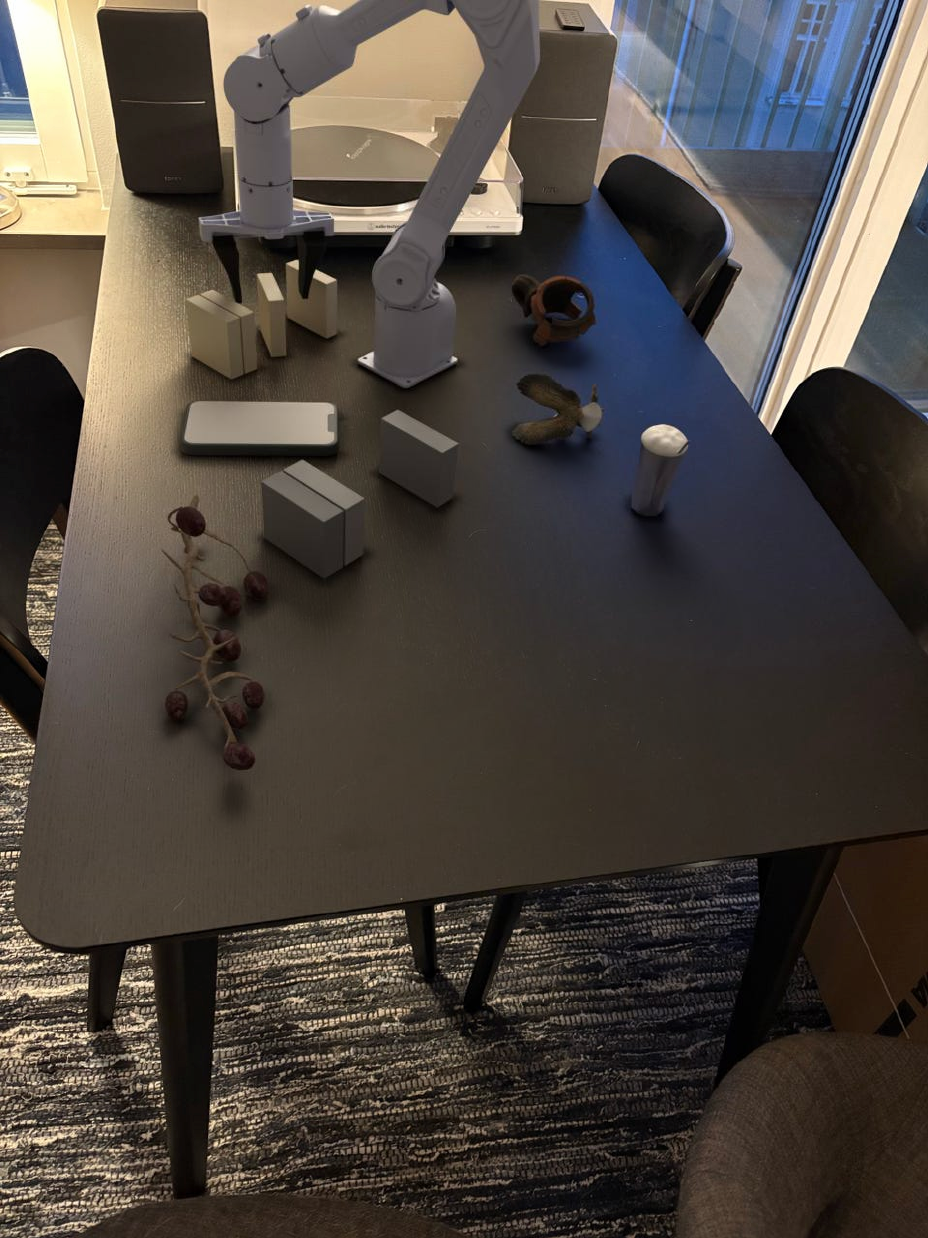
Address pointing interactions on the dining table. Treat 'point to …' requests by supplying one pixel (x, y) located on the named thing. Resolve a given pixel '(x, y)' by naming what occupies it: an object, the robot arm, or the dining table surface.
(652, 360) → the dining table surface
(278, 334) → the cream square block
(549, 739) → the dining table surface
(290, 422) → the grey smartphone
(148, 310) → the dining table surface
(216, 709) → the decorative branch
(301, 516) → the grey books
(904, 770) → the dining table surface
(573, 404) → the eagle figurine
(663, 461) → the milkshake
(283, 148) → the robot arm
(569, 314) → the rusty ring housing
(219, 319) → the cream books
